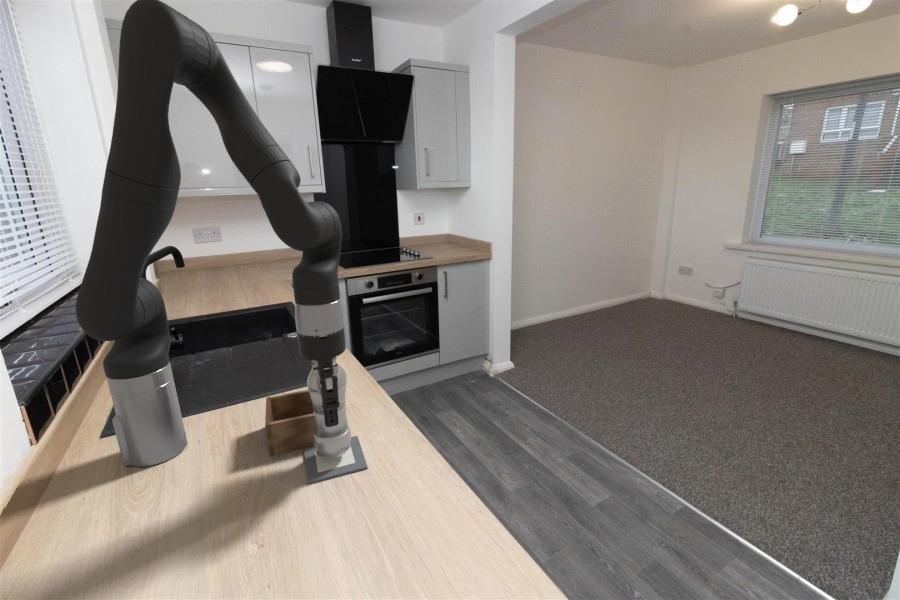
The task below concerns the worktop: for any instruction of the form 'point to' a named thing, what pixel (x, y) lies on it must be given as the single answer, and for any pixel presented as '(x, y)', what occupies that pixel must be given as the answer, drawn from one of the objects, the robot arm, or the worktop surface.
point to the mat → (334, 463)
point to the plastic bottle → (325, 438)
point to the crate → (289, 422)
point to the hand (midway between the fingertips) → (329, 415)
